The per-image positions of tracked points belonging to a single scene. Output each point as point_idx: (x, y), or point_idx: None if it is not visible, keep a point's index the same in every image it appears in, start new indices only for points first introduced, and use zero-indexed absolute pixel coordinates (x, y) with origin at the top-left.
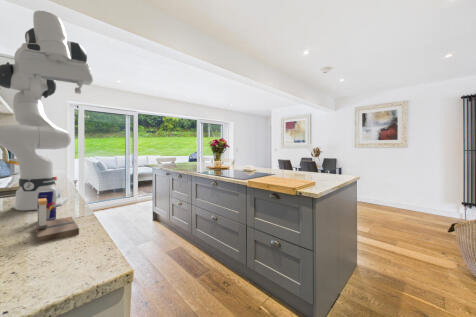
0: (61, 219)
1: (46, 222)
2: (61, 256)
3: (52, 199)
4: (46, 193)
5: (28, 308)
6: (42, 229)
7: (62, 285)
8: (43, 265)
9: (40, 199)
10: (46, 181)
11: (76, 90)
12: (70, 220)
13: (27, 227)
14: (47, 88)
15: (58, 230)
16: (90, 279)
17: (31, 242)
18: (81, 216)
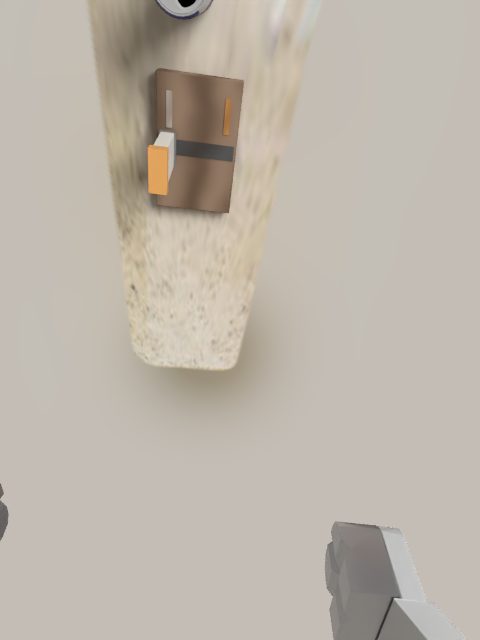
0: (215, 93)
1: (175, 144)
2: (185, 284)
3: (198, 14)
4: (176, 17)
5: (149, 360)
6: None
7: (175, 349)
8: (163, 294)
9: (153, 162)
10: None
11: (330, 582)
12: (231, 127)
13: (140, 32)
14: (5, 522)
15: (193, 193)
16: (199, 357)
17: None
18: (283, 34)
